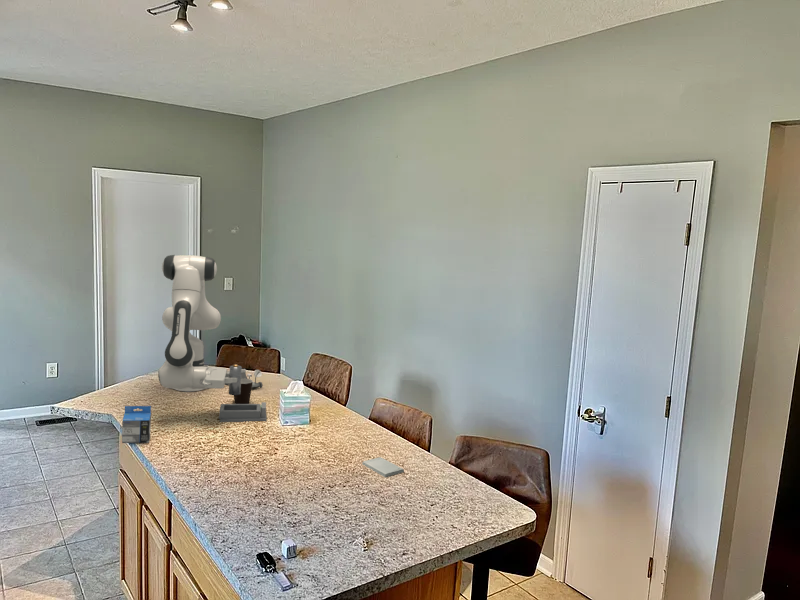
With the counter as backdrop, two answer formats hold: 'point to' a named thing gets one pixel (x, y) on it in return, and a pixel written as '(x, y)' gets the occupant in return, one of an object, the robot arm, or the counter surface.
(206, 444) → the counter surface
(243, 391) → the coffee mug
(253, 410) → the cradle
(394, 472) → the hard drive
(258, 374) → the toy lunar rover
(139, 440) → the label tape cartridge
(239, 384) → the cell
